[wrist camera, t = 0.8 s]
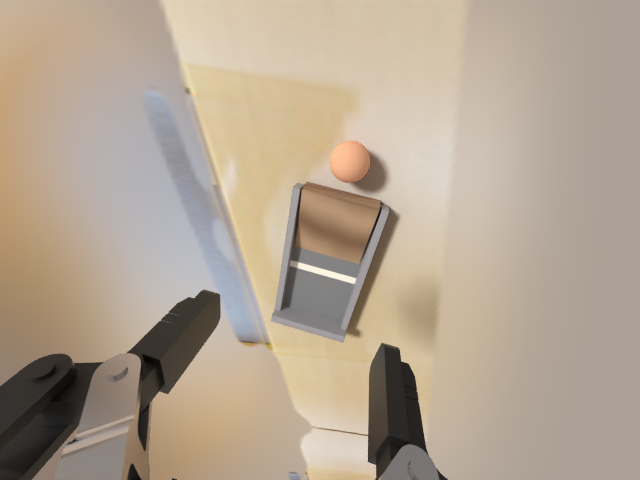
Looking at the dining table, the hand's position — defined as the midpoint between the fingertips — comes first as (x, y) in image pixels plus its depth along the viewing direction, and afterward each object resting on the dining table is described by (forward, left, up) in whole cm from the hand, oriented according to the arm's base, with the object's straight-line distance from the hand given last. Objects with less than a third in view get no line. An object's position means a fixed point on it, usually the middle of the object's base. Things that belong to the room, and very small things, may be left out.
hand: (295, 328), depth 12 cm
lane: (+9, 0, -19) cm, 21 cm away
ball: (-5, 0, -17) cm, 18 cm away
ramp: (+3, 0, -19) cm, 19 cm away
